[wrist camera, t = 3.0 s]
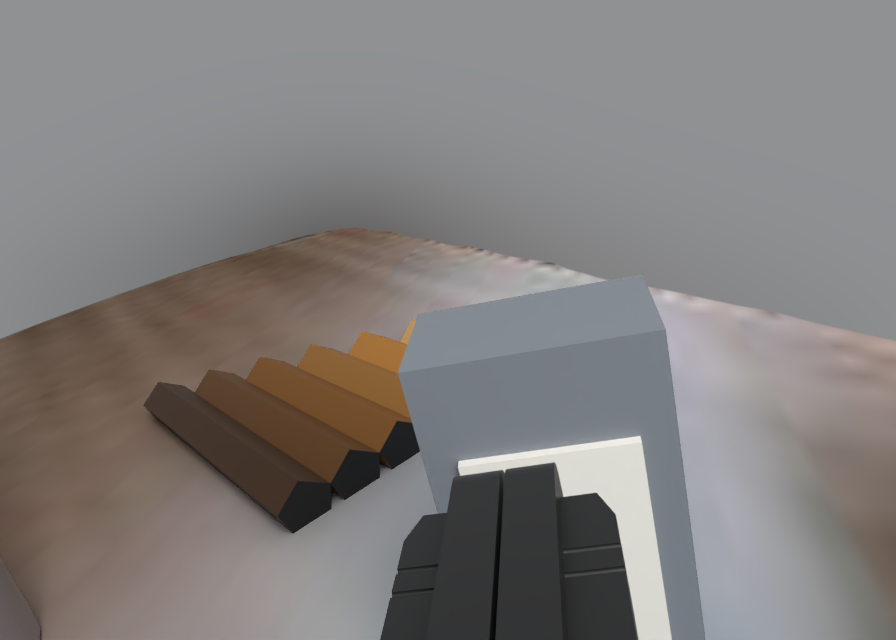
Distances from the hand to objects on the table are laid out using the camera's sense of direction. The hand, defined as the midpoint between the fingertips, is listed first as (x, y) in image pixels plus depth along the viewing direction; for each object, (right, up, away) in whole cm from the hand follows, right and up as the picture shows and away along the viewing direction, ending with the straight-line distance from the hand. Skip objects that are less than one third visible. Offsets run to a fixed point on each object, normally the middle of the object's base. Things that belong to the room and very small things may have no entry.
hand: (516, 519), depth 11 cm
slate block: (+5, -11, +16) cm, 20 cm away
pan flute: (-8, -3, +47) cm, 47 cm away
